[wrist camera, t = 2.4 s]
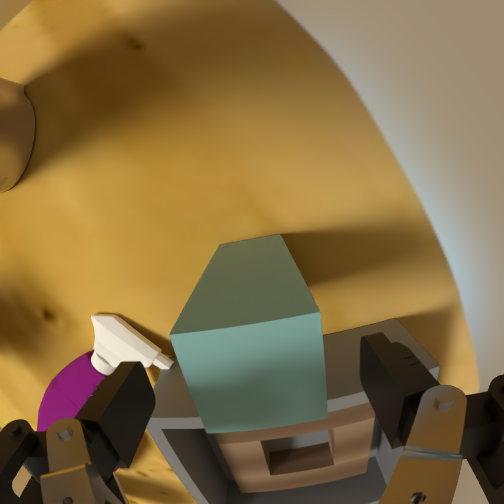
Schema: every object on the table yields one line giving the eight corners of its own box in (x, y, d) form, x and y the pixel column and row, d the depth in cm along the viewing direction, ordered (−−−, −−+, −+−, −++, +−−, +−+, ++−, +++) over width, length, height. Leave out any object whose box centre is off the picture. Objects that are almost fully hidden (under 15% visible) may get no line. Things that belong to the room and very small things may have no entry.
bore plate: (212, 391, 21) (207, 417, 18) (364, 365, 20) (377, 388, 17) (242, 471, 23) (241, 493, 20) (358, 451, 23) (366, 472, 20)
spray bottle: (42, 427, 24) (93, 282, 22) (106, 482, 24) (195, 365, 21) (29, 437, 21) (72, 288, 19) (96, 495, 21) (184, 382, 18)
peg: (219, 244, 19) (168, 335, 7) (280, 234, 19) (320, 311, 7) (231, 300, 20) (207, 433, 8) (289, 291, 20) (327, 417, 8)
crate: (167, 357, 21) (140, 417, 14) (395, 318, 20) (440, 365, 13) (222, 478, 25) (217, 526, 18) (380, 451, 24) (398, 496, 17)
